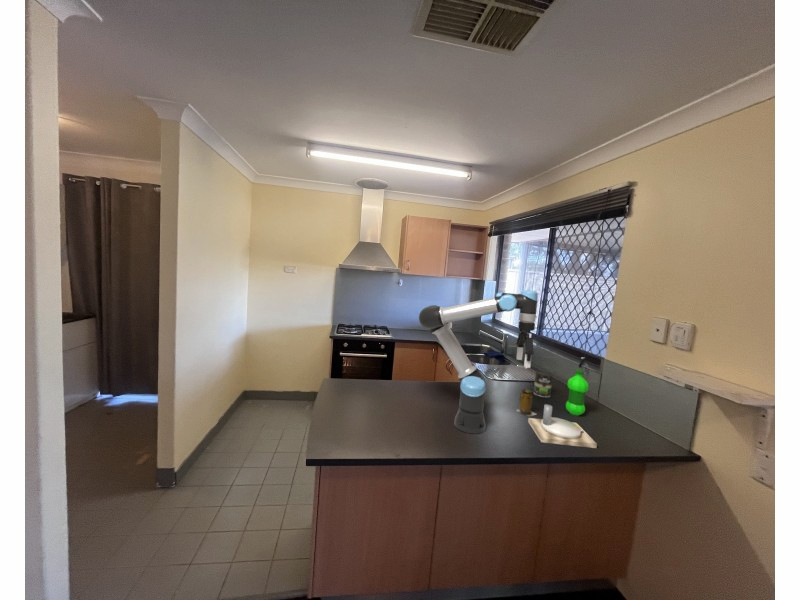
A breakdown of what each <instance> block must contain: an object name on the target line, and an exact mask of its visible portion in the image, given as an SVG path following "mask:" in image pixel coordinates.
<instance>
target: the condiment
mask: <svg viewBox="0 0 800 600" xmlns="http://www.w3.org/2000/svg"><path fill="white" fill-rule="evenodd" d="M532 404H533V391H532V390H530V389H522V391H521V394H520V403H519V409H516V410H515V411H516V412H519V413H520V414H523V416H526V417H533V416H536V415H538V414H537V413H536V412H533V411H532V407H533V405H532Z"/></svg>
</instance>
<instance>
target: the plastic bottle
mask: <svg viewBox="0 0 800 600" xmlns="http://www.w3.org/2000/svg"><path fill="white" fill-rule="evenodd" d="M584 372H585V371H584V370H582V369H580V368H579V369H578V368H577V369H575V370H574V374H575V375H574V376H572V377H569V378H568V380H567V388H568V389H569V390H568V399H567V401H566V402H565V408H566V411H567V412H568V413H569V414H570V415H573V416H577V417H579V416H580V415H583V414H584V413H585V411H586V406H585V395H586V392H588V391H589V383H588V381H587V380H585V378H584V377H583V375H584Z"/></svg>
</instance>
